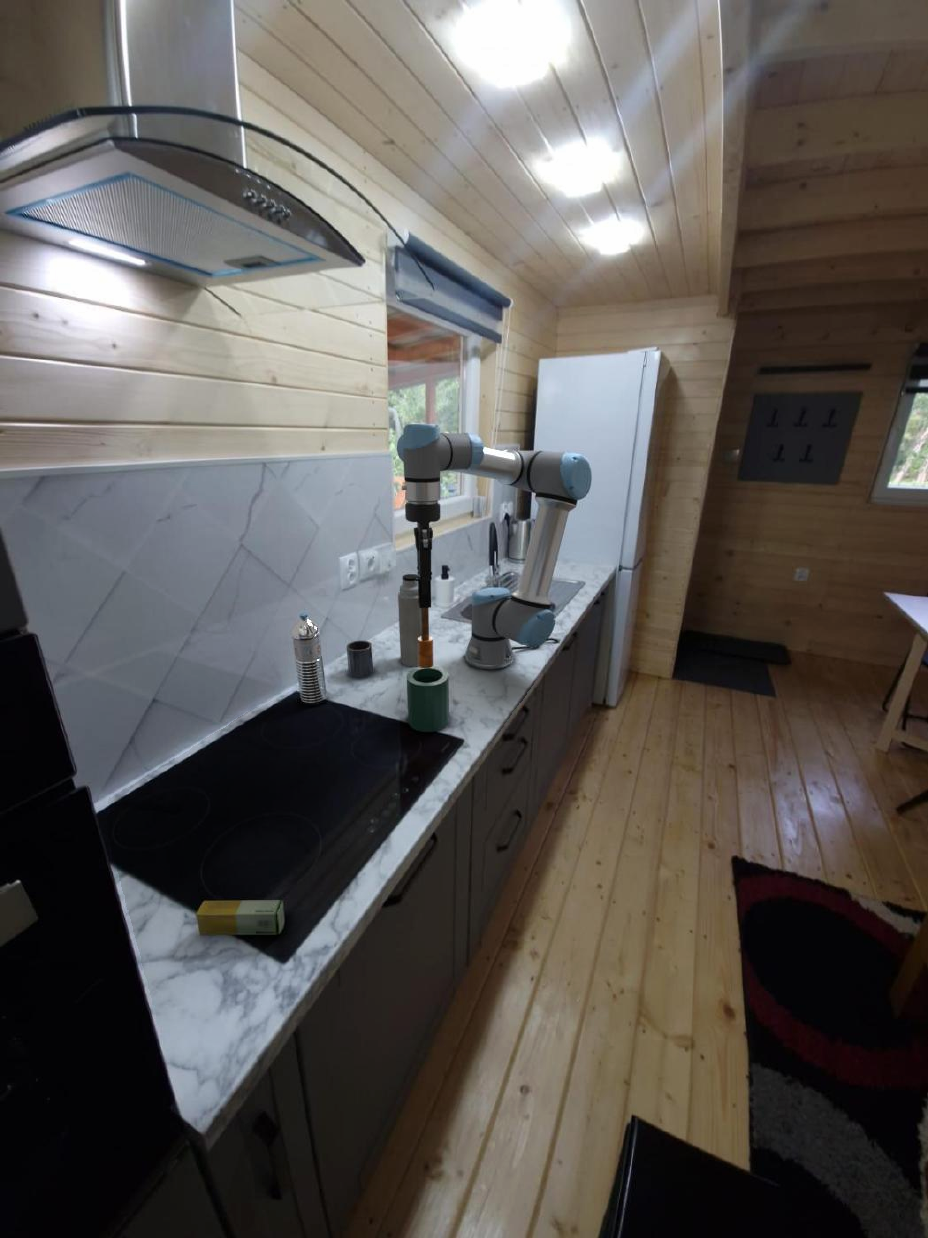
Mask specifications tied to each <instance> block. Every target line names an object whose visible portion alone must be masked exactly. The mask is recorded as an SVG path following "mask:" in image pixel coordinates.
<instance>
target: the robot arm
mask: <svg viewBox="0 0 928 1238" xmlns="http://www.w3.org/2000/svg"><path fill="white" fill-rule="evenodd" d="M402 429H403V430H402V434H401V435H400V436H399V438H398V440H397V443H396V454H397V456H398V458H399V460H400V461H401V462H402V463H403V476H404V477H403V479H404V485H401V490H402V491H404V499H405V501H407V502H405V504H404V514H405V515H404V517H405V520H406V521H408V522H410V523H416V527H413V534H414V544H415V545H414V546H415V549H416V559H417V561H416V563H417V566H416V570H417V575H418V578H416V581H418V600H419V608H429V609H431V608H432V579H433V571H432V550H433V538H434V530H433V527H432V526H430V523H436V522H438V521H440V520H441V503H440V502H439V501H440V500H441V496H442V494H441V493H442V492H441V491H442V490H441V489H442V488H441V472H444V471H448V472H453V473H460V474H466V475H469V476H470V475H471V476H475V477H476V476H477V477H482V478H487V479H492V480H497V482H498V483H500V484H501V485H505V486H509V487H513V488H516V489H519V490H523V491H525V492H529V493H533V494H535V495H534V500H535V501H536V503H537V510H536V514H535V519H534V523H533V525H532V530H531V535H530V539H529V542H528V548H527V551H526V556H525V559H524V564H523V568H522V573H521V576H520V580H519V584H518V589H516V590H515V591H513V592H512V593H511V590H510V589H508V588H505V587H498V586H497V587H485V588H482V589H478V590H476V591H475V592H473V594H472V597H471V604H470V606H471V611H470V612H471V613H470V614H471V635H470V638H469V641H468V644H467V647H466V649H465V656H464V657H465V658H464V659H465V661H466V663H467V664H469V665H470V666H472V667H474V668H477V669H482V670H499V669H504V668H506V667H509V666H510V665H511V664H512V663H513V662H514V651H516V650H527V649H538V648H540V646H542V645H543V644H545V642H548V641H553V642H555V643H560V640H558V639H556V638H554V637H551V635H552V633H553V631H554V628H555V626H556V615H555V613H554V612H553V611H552V610H551V608H552V607H551V606H552V601H551V600H550V598H549V592H550V588H551V584H552V581H553V577H554V572H555V569H556V565H557V561H558V558H559V554H560V549H561V545H562V542H563V537H564V533H565V529H566V525H567V521H568V518H569V514H570V512H571V511H573V510H574V509H576V508H577V504H578V501H581V500H583V499H584V498H586V497H587V495H588V494H589V492H590V489H591V486H592V480H593V473H592V467H591V464H590V462H589V460H588V458H587V457H585V456H584V455H583V454H580V453H575V452H570V451H552V450H551V451H549V450H515V449H510V448H507V449H505V450H498V449H494V448H490V447H486V446H485V445H484V443H483V440H482V439H481V438H480V436H479V435H478V434H475V433H468V432H460V433H459V432H457V433H455V432H453V433H452V432H441V428H440V426H439V424H437V423H407V424H405V425H404V427H403V428H402ZM510 640H511V641H513V642H515V643H517V644H519V645H520V646H513V647H512V644H511V641H510Z"/></svg>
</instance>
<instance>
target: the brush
mask: <svg viewBox="0 0 928 1238" xmlns="http://www.w3.org/2000/svg"><path fill="white" fill-rule="evenodd" d="M429 609H430V608H421V636H420V637H419V638H418V667H421V668H430V667H432V666H434V638H433V637H432V636H430V615H429V613H430V612H429Z"/></svg>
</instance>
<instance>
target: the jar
mask: <svg viewBox="0 0 928 1238" xmlns="http://www.w3.org/2000/svg"><path fill="white" fill-rule="evenodd" d="M405 676H406V694H407V695H406V696H407V697H406V698H407V720H408V721H407V722H408V725H409V726H410V727H411V728H412V729H413V730H415V731H418V732H421V733H433V732H438V731H440V730H442V729H445V728H446V727H447V725H448V724H449V720H450V680H449V679H450V676H449V672H448V671H447V670H446V669H445V668H442V667H440V666H436V665H433V666H432V667H430V668H421V667H419V666H416V667H414V668H412V669H410V670H409V671H408V672H407V673H406V675H405Z"/></svg>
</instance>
